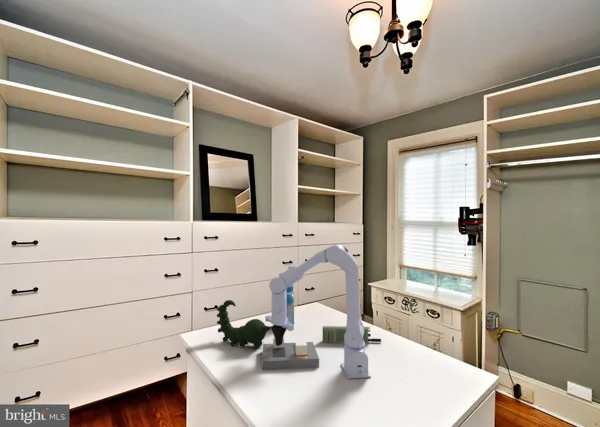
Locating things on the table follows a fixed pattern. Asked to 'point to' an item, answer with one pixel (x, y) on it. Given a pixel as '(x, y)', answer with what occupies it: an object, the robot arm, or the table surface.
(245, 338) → the toy figurine
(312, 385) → the table surface
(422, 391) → the table surface
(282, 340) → the tab
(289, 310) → the beverage bottle
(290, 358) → the switch panel
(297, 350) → the tab
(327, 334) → the handheld radio
